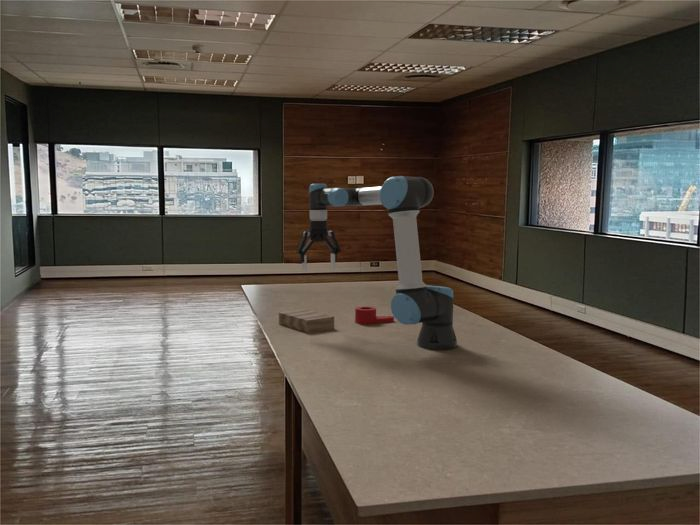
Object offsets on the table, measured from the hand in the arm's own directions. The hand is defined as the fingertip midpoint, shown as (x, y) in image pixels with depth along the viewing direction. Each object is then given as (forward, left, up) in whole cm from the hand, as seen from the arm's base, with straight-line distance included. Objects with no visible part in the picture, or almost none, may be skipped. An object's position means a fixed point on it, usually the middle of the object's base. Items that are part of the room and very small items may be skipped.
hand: (318, 269), depth 270 cm
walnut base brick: (+2, +5, -25) cm, 26 cm away
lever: (-2, -27, -25) cm, 37 cm away
